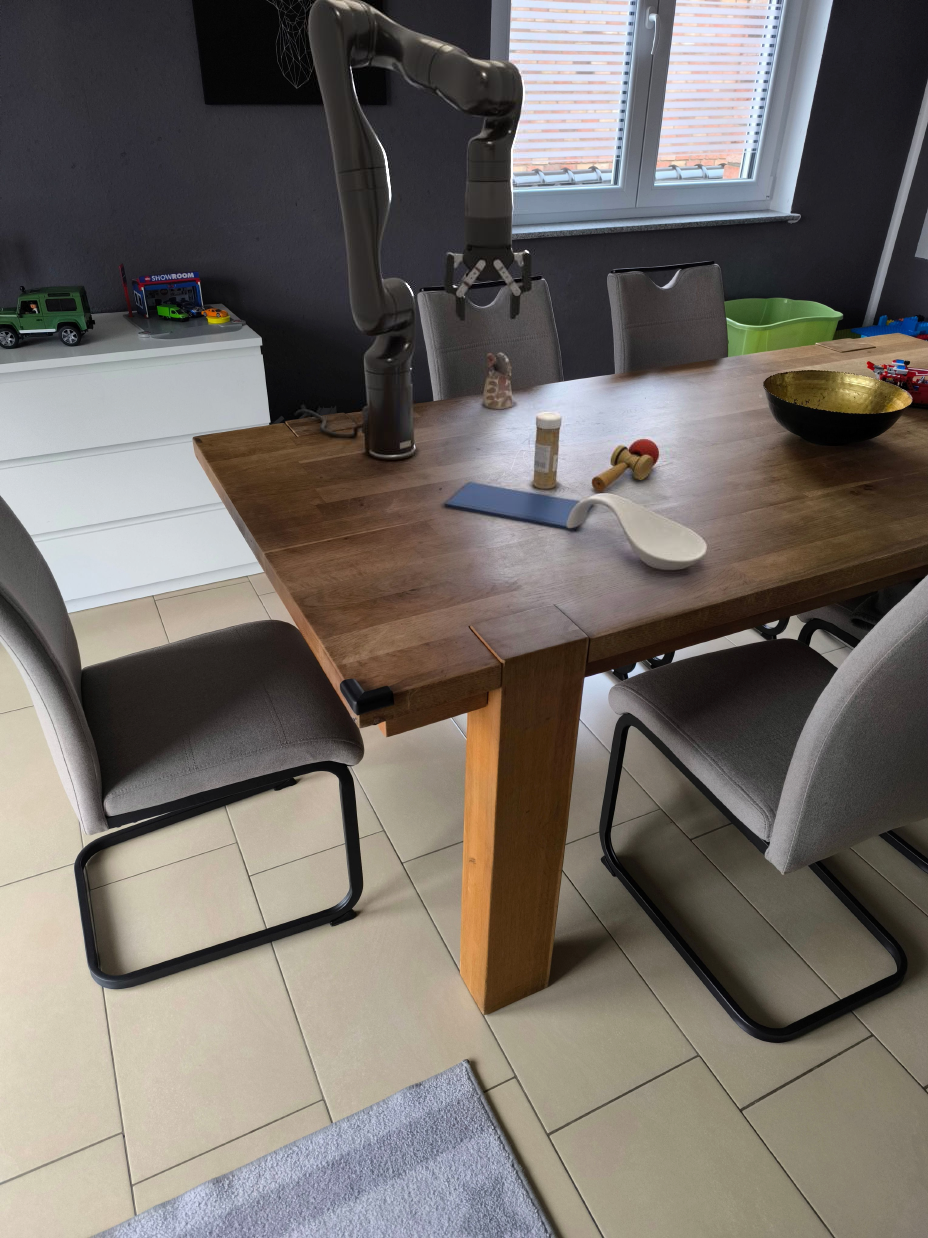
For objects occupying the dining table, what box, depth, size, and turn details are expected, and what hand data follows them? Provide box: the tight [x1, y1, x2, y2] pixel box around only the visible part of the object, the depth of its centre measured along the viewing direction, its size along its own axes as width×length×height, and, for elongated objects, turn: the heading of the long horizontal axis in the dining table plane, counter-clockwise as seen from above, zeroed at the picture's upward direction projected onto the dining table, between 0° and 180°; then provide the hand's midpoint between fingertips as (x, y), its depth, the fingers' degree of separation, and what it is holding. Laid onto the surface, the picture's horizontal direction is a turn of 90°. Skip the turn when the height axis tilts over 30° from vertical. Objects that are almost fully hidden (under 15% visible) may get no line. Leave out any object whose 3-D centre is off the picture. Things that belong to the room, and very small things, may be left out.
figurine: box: [482, 352, 514, 410], centre depth 194 cm, size 7×7×12 cm
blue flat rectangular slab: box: [444, 481, 594, 531], centre depth 148 cm, size 24×11×1 cm, turn 66°
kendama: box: [591, 438, 660, 493], centre depth 158 cm, size 8×6×18 cm
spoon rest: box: [566, 492, 708, 571], centre depth 132 cm, size 24×12×7 cm, turn 48°
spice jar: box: [532, 411, 563, 490], centre depth 153 cm, size 5×5×14 cm
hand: (487, 318), depth 140 cm, fingers open, 8 cm apart
